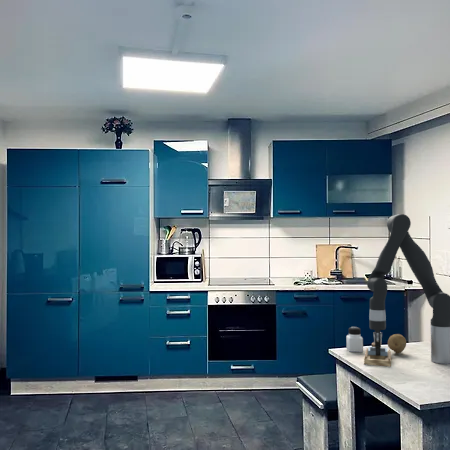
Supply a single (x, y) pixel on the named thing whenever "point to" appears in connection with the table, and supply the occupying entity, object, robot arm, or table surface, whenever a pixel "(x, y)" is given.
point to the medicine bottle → (354, 340)
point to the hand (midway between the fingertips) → (378, 355)
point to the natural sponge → (397, 343)
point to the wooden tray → (377, 359)
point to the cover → (382, 351)
